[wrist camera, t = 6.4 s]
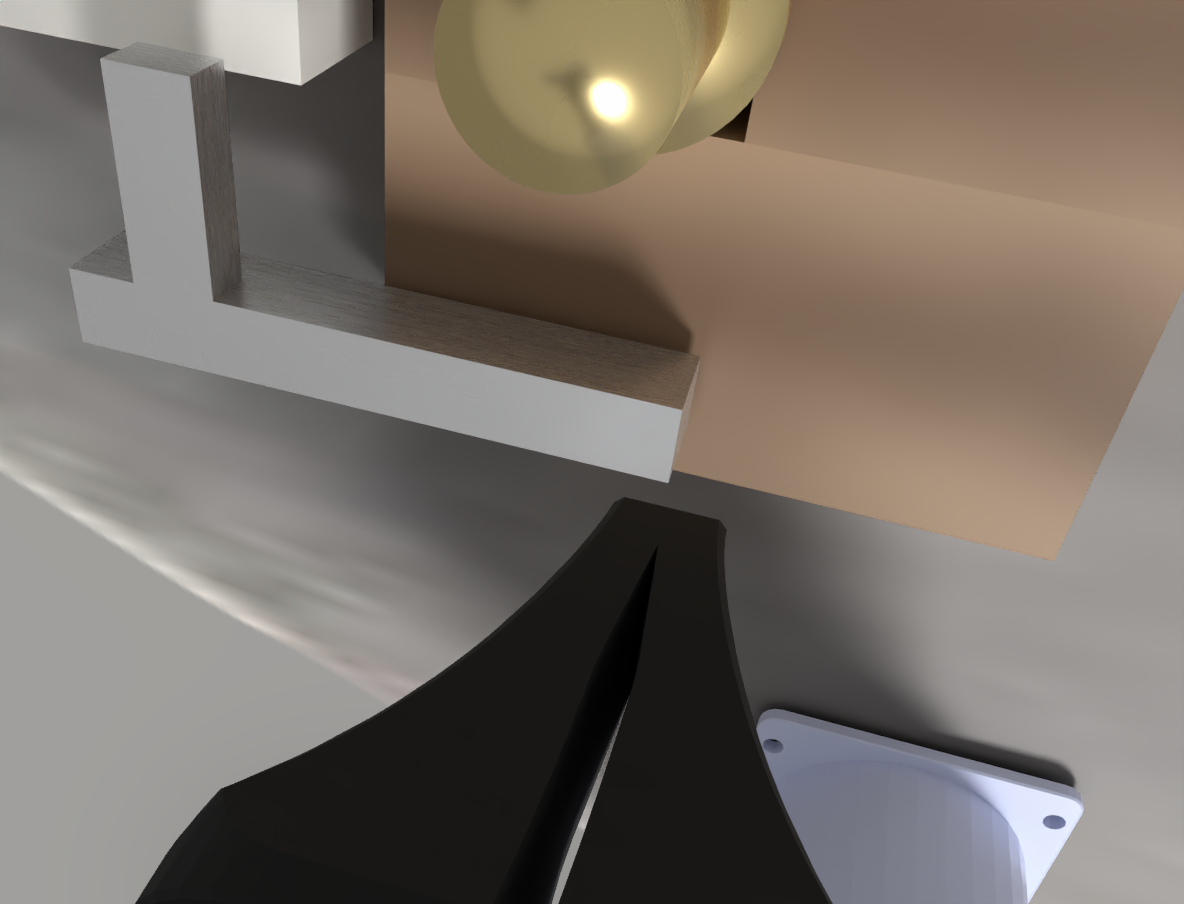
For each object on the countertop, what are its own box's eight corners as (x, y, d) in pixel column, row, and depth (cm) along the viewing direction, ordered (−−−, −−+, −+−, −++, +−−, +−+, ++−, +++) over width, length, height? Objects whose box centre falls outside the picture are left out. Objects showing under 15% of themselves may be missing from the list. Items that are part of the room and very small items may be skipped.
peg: (777, 116, 19) (714, 288, 14) (526, 67, 20) (371, 214, 15) (839, -183, 17) (794, -117, 11) (548, -228, 17) (367, -186, 12)
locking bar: (687, 426, 20) (668, 483, 19) (138, 298, 22) (82, 341, 20) (742, 142, 17) (725, 184, 16) (96, 16, 19) (27, 43, 17)
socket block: (1041, 468, 23) (1053, 561, 20) (438, 330, 24) (384, 401, 22) (1356, -252, 15) (1434, -240, 13) (461, -374, 17) (384, -384, 15)
